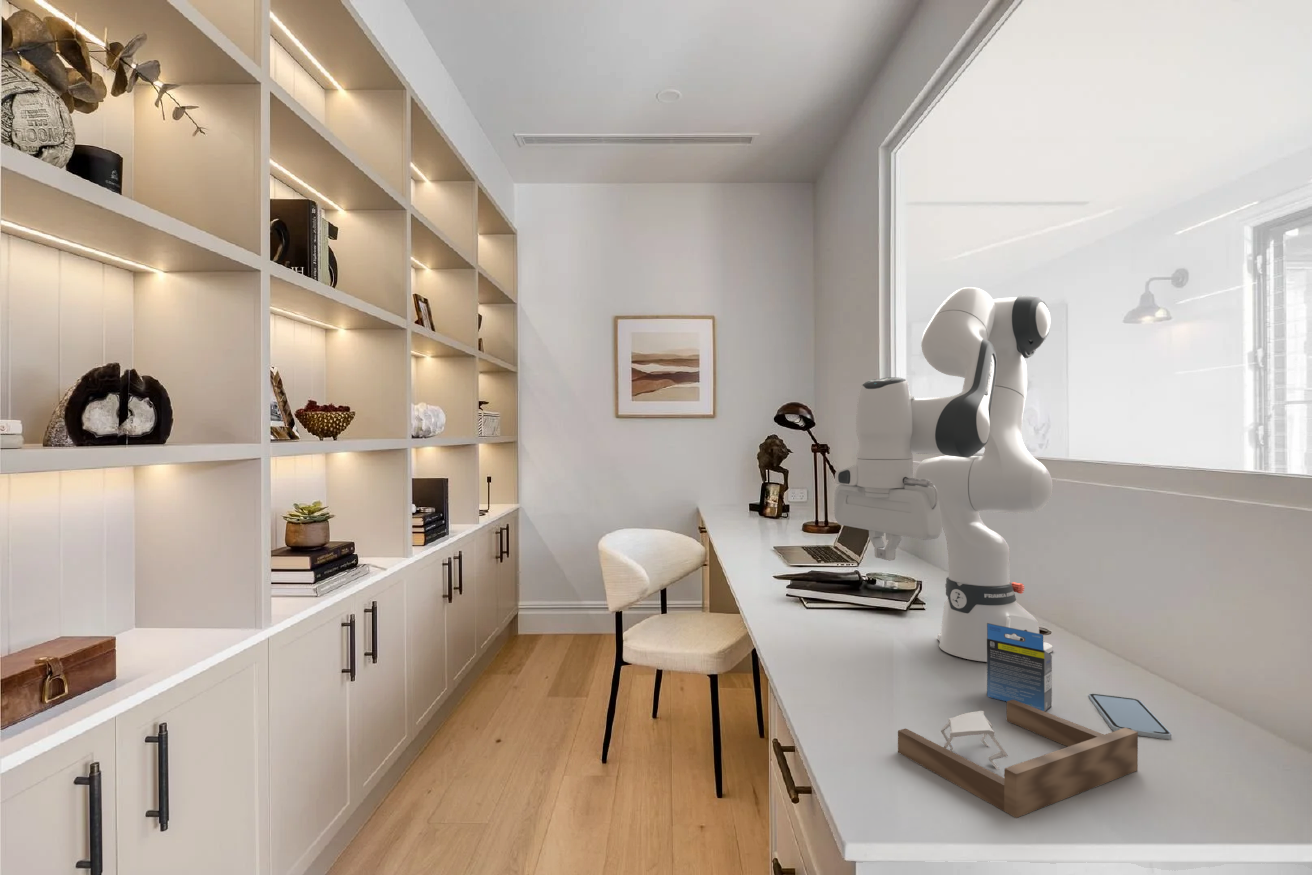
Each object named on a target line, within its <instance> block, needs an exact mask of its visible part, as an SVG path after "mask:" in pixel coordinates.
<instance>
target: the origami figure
mask: <svg viewBox="0 0 1312 875" xmlns="http://www.w3.org/2000/svg"><path fill="white" fill-rule="evenodd" d="M947 720H948V723H946V724H945V725H944V726H943V727H942V728H941V730H940V732H941V734H942V735H943V738H944V739H945V744H944V746H943V747H944V748H946V749H948V747H949V748H950V749H949V750H950V751H952V752H953V751H954V747H953V745H952V743H951V742H952V740H953V739H954V738H956V737H957V738H958V737H966V736H976V735H977V736H978V735H983V736H982V737H981V739H980V742H981V743H982V744H984V745H985V747H987V746H988V747H987V748H990V747H989V746H990V744H988V743H987V741H985V739H986V737H989V738H990V739H991V740H992V742H993V743H994V745H996V746H997V748H998V749H999V750H1000V751H999V752H996V753H994V754H992V755H990V756H989V757H988V756H987V759H988V761H989V762H991V764H992V765H993V767H994V768H995V769H996V771H997V770H998V771H1000V768H999V766H998V765H997V764H996V763H995V761H994V760H998V759H1002V758H1005V757H1007V758H1008V757H1009V755H1008V753H1007V752H1006V751H1005V749H1004V748H1003V746H1001V744H1000V742H999V741H998V740H997V738H996V737H995V734H996V732H995V731H994V729H992V728H993V726H994V725H993V724H992V723H991V721H990V720H989V719H988V717H986V715H985V710H978V711H977V710H976V711H970V712H965V713H961V714H959V715H956V716H953V717H950V718H948V719H947ZM948 728H949V729H950V732H949V737H948V735H947V733H946V730H947V729H948Z"/></svg>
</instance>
